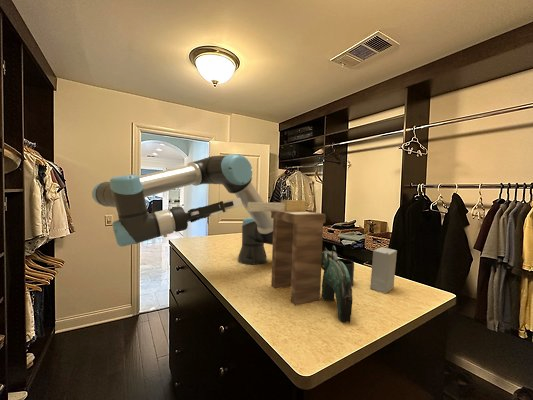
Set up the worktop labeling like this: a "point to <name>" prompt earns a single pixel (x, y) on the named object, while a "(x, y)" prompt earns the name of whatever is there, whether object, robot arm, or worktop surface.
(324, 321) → the worktop surface
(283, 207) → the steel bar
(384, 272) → the skincare box
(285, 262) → the walnut shelf
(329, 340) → the worktop surface
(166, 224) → the robot arm
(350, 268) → the mug
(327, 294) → the dark green curved figure
